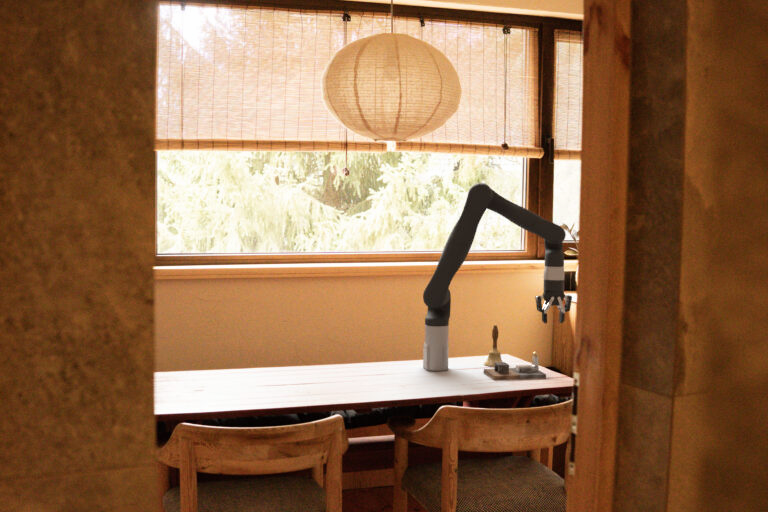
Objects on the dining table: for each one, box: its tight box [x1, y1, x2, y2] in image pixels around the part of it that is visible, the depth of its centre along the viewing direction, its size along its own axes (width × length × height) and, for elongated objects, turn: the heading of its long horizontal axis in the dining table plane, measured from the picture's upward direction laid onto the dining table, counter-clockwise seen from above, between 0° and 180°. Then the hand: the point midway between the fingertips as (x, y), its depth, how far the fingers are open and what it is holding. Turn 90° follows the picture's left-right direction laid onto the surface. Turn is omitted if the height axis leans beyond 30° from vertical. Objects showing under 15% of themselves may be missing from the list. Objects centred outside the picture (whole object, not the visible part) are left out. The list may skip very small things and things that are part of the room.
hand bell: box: [483, 324, 503, 368], centre depth 283 cm, size 8×8×16 cm
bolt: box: [515, 351, 540, 372], centre depth 264 cm, size 8×2×7 cm, turn 100°
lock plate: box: [483, 361, 547, 381], centre depth 263 cm, size 20×12×5 cm, turn 100°
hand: (553, 322), depth 265 cm, fingers open, 5 cm apart
